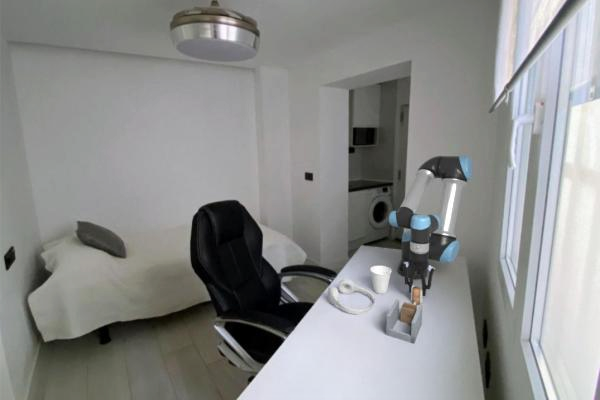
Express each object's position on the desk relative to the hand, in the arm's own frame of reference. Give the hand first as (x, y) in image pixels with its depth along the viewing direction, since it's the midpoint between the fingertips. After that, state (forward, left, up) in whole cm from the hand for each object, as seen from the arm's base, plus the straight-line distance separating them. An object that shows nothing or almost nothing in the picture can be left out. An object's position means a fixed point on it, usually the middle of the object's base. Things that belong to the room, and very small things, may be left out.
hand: (416, 300), depth 133 cm
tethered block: (+9, 0, 0) cm, 9 cm away
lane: (+23, 0, 0) cm, 23 cm away
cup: (-1, -17, -1) cm, 17 cm away
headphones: (+14, -25, -1) cm, 29 cm away
